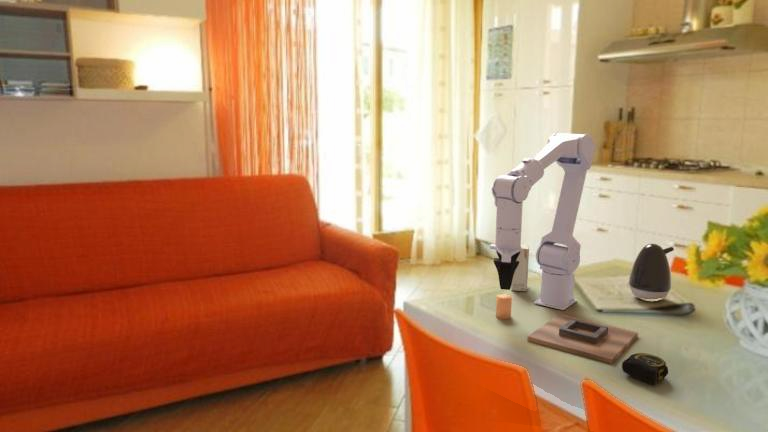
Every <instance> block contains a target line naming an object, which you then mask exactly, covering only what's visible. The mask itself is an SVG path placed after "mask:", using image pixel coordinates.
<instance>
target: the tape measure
mask: <svg viewBox="0 0 768 432" xmlns="http://www.w3.org/2000/svg"><path fill="white" fill-rule="evenodd" d="M621 369H622V372H623V373H625V374H626V375H630V376H631V377H633V378H636V379H639V380H641V381H644V382H646V383H648V384H651V385H654V386H655V385H657V384H658V383H659V382H663V381H664V380H665V378H666V377H667V376H668V375H669V369H668V366H667V363H666V361H665V360H664V359H663V358H661V357H660V356H656V355H654V354H650V353H643V352H639V353H633V354H631V355H630V356H628V358H626V359H625V360H624V361H622V365H621Z"/></svg>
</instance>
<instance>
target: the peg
mask: <svg viewBox="0 0 768 432" xmlns="http://www.w3.org/2000/svg"><path fill="white" fill-rule="evenodd" d="M512 299H513V297H512V295H509V294H505V293H504V294H497V295H496V302H495V305H496V306H495V317H496V318H497V319H500V320H509V319H511V318H512V301H513V300H512Z"/></svg>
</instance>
